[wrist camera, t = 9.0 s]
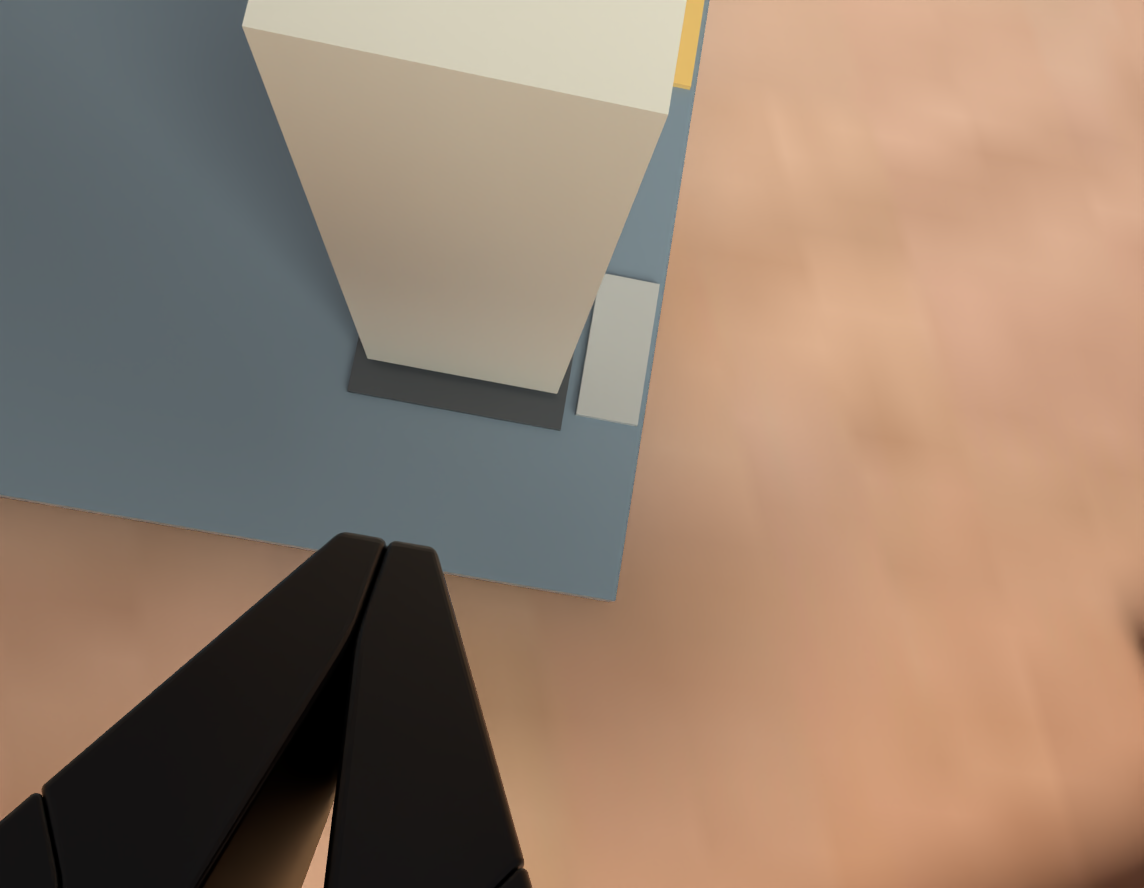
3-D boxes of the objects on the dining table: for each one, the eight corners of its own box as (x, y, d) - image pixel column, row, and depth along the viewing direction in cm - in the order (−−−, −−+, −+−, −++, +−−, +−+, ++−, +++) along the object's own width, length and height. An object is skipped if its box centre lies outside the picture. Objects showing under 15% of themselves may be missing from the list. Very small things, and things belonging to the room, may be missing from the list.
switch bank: (608, 602, 17) (622, 600, 15) (-558, 401, 15) (-666, 378, 14) (709, -43, 19) (730, -99, 17) (-300, -266, 18) (-370, -346, 16)
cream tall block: (556, 393, 16) (668, 114, 7) (367, 358, 16) (242, 25, 7) (577, 274, 16) (707, -131, 8) (392, 239, 16) (304, -221, 7)
